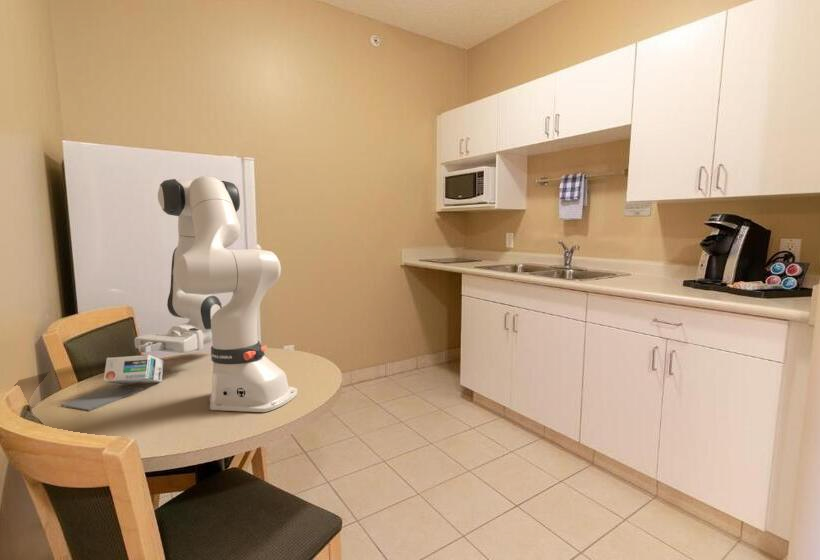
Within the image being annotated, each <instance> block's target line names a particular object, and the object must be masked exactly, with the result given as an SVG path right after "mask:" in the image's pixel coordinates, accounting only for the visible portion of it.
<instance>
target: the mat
mask: <svg viewBox="0 0 820 560" xmlns="http://www.w3.org/2000/svg"><path fill="white" fill-rule="evenodd" d="M143 390H144V389H143V388H140V387H133V386H127V385H121V384H113V385H109V386H106V387H105V388H102V389H98V390H95V391H93V392H90V393H87V394H85V395H82V396H78V397H76V398H74V399H70V400H68V401H65V402H62V403H59V406H60V405H61V406H60V407H64V406H66V407H65V408H69V407H71V408H70V409H75V408H76V410H80V409H81V411H86V410H87V411H86V412H92V411H93V410H95V409H98V408H101V407H103V406H106V405H108V404H111V403H114V402H116V401H119V400H120V399H124V398H126V397H129V396H131V395H133V394H137V393H139V392H141V391H143Z"/></svg>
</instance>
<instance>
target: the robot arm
mask: <svg viewBox="0 0 820 560" xmlns="http://www.w3.org/2000/svg"><path fill="white" fill-rule="evenodd" d="M157 201H158V204H159V206H160V207H161V209H162V211H163V212H164V213H165V214H166V215H169V216H175V217H178V218H177V219H178V220H177V221H178V222H177V226H178V228H177V229H178V230H177V231H178V244H177V246H176V247H175V249H174V250H173V253H172V257H171V258H172V259H171V268H170V269H171V271H170V272H171V273H170V274H171V275H170V289H169V294H168V297H167V304H166V305H167V309H168V312H169V313H170V314H171V315H172V316H173V317H176V318H183V319H188V320H189V321H188V322H186V323H182V324H178V325H174V326H172V327H170V329H169V330H168V332H167V333H164V332H152V333H147V334H143V335H139V336H136V337H135V338H134V348H135V349H138V351H139V352H141V353H151V352H168V353H179V354H182V353H190V352H193V351H201V350H203V349H204V345H207V344H210V343H211V344H212V345H211V347H210V358H211V362H213V363H212V364H213V366H212V368H213V370H212V380H211V381H212V382H211V390H210V391H211V392H210V397H209V403H210V404H209V410H210V411H224V412H225V411H228V412H231V411H232V412H249V413H250V412H251V413H266V412H270V411H273V410H275V409H278V408H280V407H282V406H284V405H285V404H288V403H289V402H290V401H292V400H293V399H294V398H295V397H296V396H297V394H298V388H297V387H293V386H289V383H288V382H289V381H288V378H287V374H286V372H285V371H284V370H283V369H282V368H280V366H278V365H277V364H275V363H274V362H273V361H271V360H270V359H269V358H268V357H267V356H265V354H266V353H265V351H267V350H268V348H267V347H268V345H264V346H262V343H261V342H260V341H259V337H258V336H259V335H258V333H259V332H258V320H259V319H258V317H259V316H258V315H259V310H260V305H261V304H262V301H263V300H264V297H265V295H266V294H267V293H268V291H270V290H271V289H272V288H273V286H275V284H277V283H278V281H279V279H280V276H281V273H282V266H281V261H280V259H279V258H278V256H277V255H276V253H274V252H273V251H270V250H267V249H266V250H265V249H259V248H241V249H228V247H230V246H232V245H233V244H234V243H235V242H237V240H238V239H239V238H240V235H241V230H242V229H241V224H240V221H239V218H238V215H237V212H238V211H239V209H240V205H241V194H240V192H239V189H238V186H237V185H236V184H235V183H233V182H230V181H225V180H220V179H218V178H217V177H214V176H210V175H209V176H208V175H204V176H199V177H197V178H185V179H184V178H182V179H176V178H172V179H171V178H170V179H166V180H163V181H162V182H161V183H160V184H159V188H158V191H157ZM227 293H232V296H231V299H230V300H229V301H228V303H227V304H226V305H224V306H222V303H221V301H220V299H219V298H218V297H217V296H216V295H217V294H227ZM215 294H216V295H215Z"/></svg>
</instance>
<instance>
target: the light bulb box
mask: <svg viewBox="0 0 820 560" xmlns="http://www.w3.org/2000/svg"><path fill="white" fill-rule="evenodd" d="M164 362H165V361H164V359H162V358H158V357H156V356H153V355H150V354H140V355H139V354H137V355H129V356H113V357H111V356H109V357H106V361H105V368H104V375H103V380H102V381H103V382H105V383H110V384H115V385H120V386H127V385H128V386H129V385H137V384H138V385H139V384H151V383H162V381H163V371H164Z"/></svg>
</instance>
